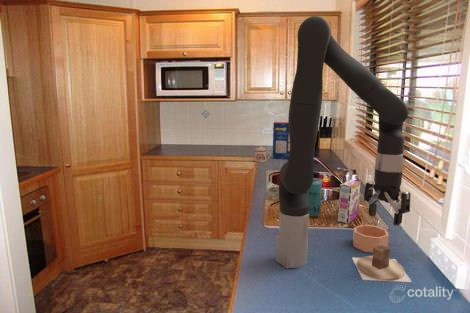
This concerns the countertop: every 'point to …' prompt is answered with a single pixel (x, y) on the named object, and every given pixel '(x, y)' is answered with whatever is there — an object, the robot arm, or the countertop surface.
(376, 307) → the countertop surface
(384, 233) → the bowl
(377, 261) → the lid
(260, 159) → the teacup with lid
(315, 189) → the beverage bottle
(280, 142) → the blue flat square box
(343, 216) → the candy bar box
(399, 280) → the mat
